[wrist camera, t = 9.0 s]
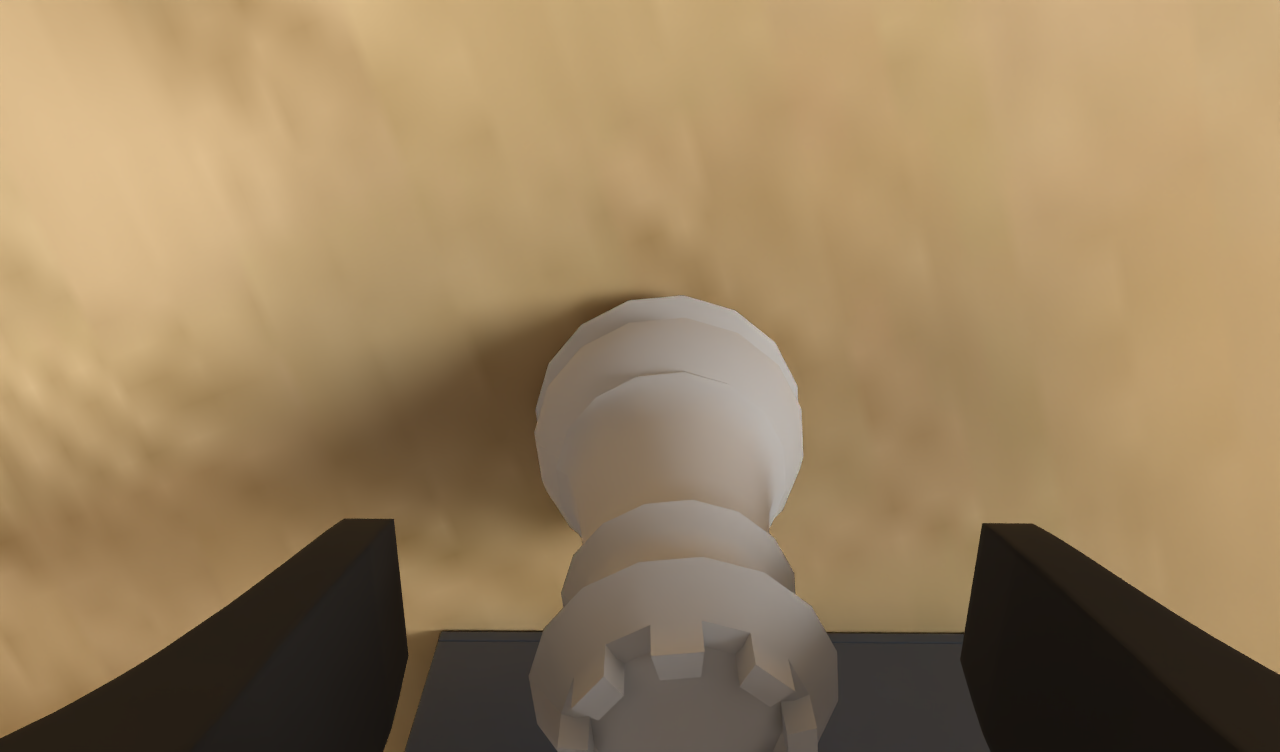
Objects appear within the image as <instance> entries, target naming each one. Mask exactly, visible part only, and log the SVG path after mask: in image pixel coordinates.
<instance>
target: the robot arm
mask: <svg viewBox="0 0 1280 752" xmlns="http://www.w3.org/2000/svg"><path fill="white" fill-rule="evenodd" d="M407 660H408V647H407V637H406V628H405V619H404V609H403V600H402V591H401V581H400V572H399V563H398V553H397V544H396V535H395V525H394V519H343V520H342V521H340V522H339V523H337V524H336V525H334V526H333V527H331V528H330V529H328V530H327V531H326V532H324V533H323V534H322V535H320V536H319V537H318V538H316V539H315V540H314V541H312V542H311V543H310V544H308V545H307V546H306V547H305V548H303V549H302V550H301V551H299V552H298V553H297V554H295V555H294V556H293V557H292V558H290V559H289V560H288V561H286V562H285V563H284V564H282V565H281V566H280V567H278V568H277V569H276V570H274V571H273V572H272V573H270V574H269V575H268V576H266V577H265V578H264V579H262V580H261V581H260V582H258V583H257V584H256V585H254V586H253V587H252V588H250V589H249V590H248V591H246V592H245V593H244V594H242V595H241V596H240V597H238V598H237V599H236V600H234V601H233V602H232V603H230V604H229V605H227V606H226V607H224V608H223V609H222V610H220V611H219V612H217V613H216V614H214V615H213V616H211V617H210V618H208V619H207V620H205V621H204V622H202V623H201V624H200V625H198V626H197V627H195V628H194V629H192V630H191V631H189V632H188V633H186V634H185V635H183V636H182V637H180V638H179V639H177V640H176V641H175V642H173V643H172V644H170V645H169V646H167V647H166V648H164V649H163V650H161V651H160V652H158V653H157V654H155V655H153V656H152V657H150V658H149V659H147V660H145V661H144V662H142V663H141V664H139V665H137V666H136V667H134V668H132V669H131V670H129V671H127V672H126V673H124V674H122V675H121V676H119V677H117V678H116V679H114V680H112V681H110V682H108V683H107V684H105V685H103V686H101V687H100V688H98V689H96V690H94V691H92V692H91V693H89V694H87V695H85V696H84V697H82V698H80V699H78V700H76V701H75V702H73V703H71V704H69V705H67V706H65V707H63V708H62V709H60V710H58V711H56V712H54V713H52V714H50V715H48V716H46V717H44V718H42V719H40V720H38V721H35V722H33V723H31V724H29V725H27V726H25V727H23V728H21V729H19V730H17V731H15V732H13V733H11V734H9V735H7V736H5V737H2V738H0V752H383V750H384V748H385V745H386V742H387V739H388V737H389V734H390V731H391V728H392V724H393V720H394V716H395V712H396V708H397V704H398V700H399V696H400V691H401V687H402V682H403V678H404V673H405V669H406V664H407ZM960 661H961V665H962V668H963V672H964V675H965V679H966V682H967V685H968V689H969V692H970V696H971V699H972V702H973V706H974V709H975V712H976V715H977V718H978V721H979V724H980V727H981V730H982V733H983V736H984V738H985V740H986V743H987V745H988V747H989V749H990V752H1280V675H1279V674H1277V673H1276V672H1274V671H1272V670H1270V669H1268V668H1266V667H1265V666H1263V665H1261V664H1259V663H1258V662H1256V661H1254V660H1252V659H1251V658H1249V657H1247V656H1245V655H1244V654H1242V653H1240V652H1239V651H1237V650H1235V649H1233V648H1232V647H1230V646H1228V645H1226V644H1225V643H1223V642H1221V641H1219V640H1218V639H1216V638H1214V637H1213V636H1211V635H1209V634H1208V633H1206V632H1204V631H1203V630H1201V629H1199V628H1198V627H1196V626H1195V625H1193V624H1191V623H1190V622H1188V621H1186V620H1185V619H1183V618H1181V617H1180V616H1178V615H1177V614H1175V613H1174V612H1172V611H1170V610H1169V609H1167V608H1166V607H1164V606H1162V605H1161V604H1159V603H1158V602H1156V601H1155V600H1153V599H1151V598H1150V597H1148V596H1147V595H1145V594H1144V593H1142V592H1141V591H1139V590H1138V589H1136V588H1134V587H1133V586H1131V585H1130V584H1128V583H1127V582H1125V581H1124V580H1122V579H1121V578H1119V577H1118V576H1116V575H1115V574H1113V573H1112V572H1110V571H1108V570H1107V569H1105V568H1104V567H1102V566H1101V565H1099V564H1098V563H1096V562H1095V561H1093V560H1092V559H1090V558H1089V557H1087V556H1086V555H1084V554H1083V553H1081V552H1079V551H1078V550H1076V549H1075V548H1073V547H1072V546H1070V545H1068V544H1067V543H1065V542H1064V541H1062V540H1060V539H1059V538H1057V537H1056V536H1054V535H1052V534H1051V533H1049V532H1047V531H1045V530H1044V529H1042V528H1040V527H1038V526H1036V525H1034V524H1005V523H982V529H981V535H980V541H979V547H978V554H977V560H976V566H975V572H974V578H973V584H972V590H971V596H970V602H969V608H968V614H967V621H966V627H965V633H964V639H963V645H962V651H961V657H960Z"/></svg>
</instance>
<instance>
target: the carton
mask: <svg viewBox="0 0 1280 752" xmlns="http://www.w3.org/2000/svg"><path fill="white" fill-rule="evenodd" d="M542 633H543V632H441V633H440V636H439V639H438V643H437V646H436V649H435V653H434V656H433V659H432V663H431V666H430V669H429V672H428V676H427V679H426V682H425V686H424V689H423V692H422V695H421V699H420V702H419V705H418V709H417V712H416V715H415V718H414V722H413V725H412V728H411V732H410V735H409V738H408V742H407V745H406V748H405V751H404V752H558V751H557V750H556V749H555V747H554V746H553V745H552V743H551V742H550V741H549V739H548V738H547V736H546V735H545V734H544V732H543V731H542V730H541V728H540V727H539V726H538V724H537V720H536V714H535V709H534V703H533V698H532V692H531V687H530V681H529V674H530V670H531V667H532V664H533V661H534V658H535V655H536V652H537V649H538V645H539V642H540V639H541V636H542ZM827 635H828V636H829V638H830V640H831V642H832V643H833V645H834V647H835V649H836V651H837V668H838V702H837V704H836V706H835V708H834V710H833V712H832V715H831V717H830V719H829V721H828V723H827V725H826V727H825V729H824V731H823V733H822V735H821V737H820V739H819V741H818V752H990V749H989V747H988V745H987V743H986V740H985V738H984V736H983V733H982V730H981V727H980V724H979V721H978V718H977V715H976V712H975V709H974V706H973V702H972V699H971V696H970V692H969V689H968V685H967V682H966V679H965V675H964V672H963V668H962V665H961V661H960V657H961V651H962V645H963V639H964V634H882V633H827Z"/></svg>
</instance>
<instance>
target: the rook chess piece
mask: <svg viewBox="0 0 1280 752" xmlns="http://www.w3.org/2000/svg"><path fill="white" fill-rule="evenodd" d="M535 410H536V417H537V425H536V429H535V432H534V435H535V441H536V447H537V454H538V460H539V466H540V473H541V479H542V482H543V484H544V487H545V489H546V491H547V493H548V494H549V496H550V497H551V499H552V500H553V502H554V503H555V505H556V506H557V508H558V509H559V511H560V512H561V514H562V515H563V517H564V519H565V520H566V522H567V523H568V525H569V526H570V528H571V529H573V530H574V531H576V532H577V533H578V534H579V535H580V537H581V538H582V543H583V545H582V546H581V547H580V548H579V549H578V551H577V552H576V553H575V554H574V555H573V558H572V561H571V564H570V567H569V570H568V573H567V576H566V579H565V582H564V585H563V588H562V592H561V595H562V601H563V609H562V610H561V611H560V612H559V613H558V614H557V615H556V616H555V617H554V618H553V619H552V620H551V621H550V622H549V624H548V625H547V626H546V627H545V628H544V630H543V633H542V636H541V639H540V642H539V645H538V649H537V652H536V655H535V658H534V661H533V664H532V667H531V670H530V674H529V681H530V687H531V692H532V698H533V703H534V709H535V714H536V720H537V724H538V726H539V727H540V728H541V730H542V731H543V732H544V734H545V735H546V736H547V738H548V739H549V741H550V742H551V743H552V745H553V746H554V747H555V749H556V750H557V751H558V752H818V741H819V739H820V737H821V735H822V733H823V731H824V729H825V727H826V725H827V723H828V721H829V719H830V717H831V715H832V712H833V710H834V708H835V706H836V704H837V702H838V668H837V651H836V649H835V647H834V645H833V643H832V642H831V640H830V638H829V636H828V635H827V633H826V631H825V629H824V628H823V626H822V624H821V622H820V620H819V619H818V617H817V615H816V613H815V612H814V610H813V608H812V606H810V605H809V604H808V603H806V602H805V601H803V600H802V599H801V598H799V597H798V596H797V595H795V578H794V572H793V570H792V568H791V567H790V565H789V563H788V561H787V559H786V558H785V556H784V554H783V552H782V551H781V549H780V547H779V545H778V543H777V542H776V540H775V538H774V537H772V536H771V535H770V534H769V527H770V526H771V524H772V522H773V519H774V518H775V517H776V516H777V515H778V514H779V513H780V512H781V511H782V510H783V508H784V506H785V503H786V501H787V499H788V496H789V494H790V491H791V489H792V487H793V484H794V482H795V479H796V477H797V475H798V472H799V470H800V467H801V463H802V460H803V436H802V410H801V407H800V405H799V403H798V387H797V384H796V382H795V380H794V378H793V376H792V374H791V372H790V370H789V368H788V367H787V365H786V363H785V361H784V359H783V357H782V355H781V353H780V351H779V349H778V347H777V345H776V343H775V342H774V341H773V340H771V339H770V338H769V337H768V336H766V335H765V334H764V333H763V332H761V331H760V330H759V329H758V328H756V327H755V326H754V325H753V324H751V323H750V322H749V321H748V320H746V319H745V318H744V317H743V316H741V315H740V314H739V313H738V312H737V311H735V310H732V309H729V308H726V307H722V306H719V305H715V304H712V303H708V302H705V301H701V300H698V299H694V298H691V297H688V296H684V295H680V296H670V297H659V298H649V299H638V300H629V301H627V302H625V303H623V304H621V305H619V306H617V307H615V308H613V309H611V310H609V311H607V312H605V313H603V314H601V315H599V316H597V317H595V318H593V319H591V320H589V321H588V322H586V323H584V324H582V325H581V326H580V327H579V328H578V329H577V330H576V332H575V333H574V334H573V335H572V336H571V337H570V339H569V340H568V341H567V342H566V343H565V345H564V346H563V347H562V348H561V349H560V351H559V352H558V353H557V354H556V355H555V356H554V358H553V359H552V360H551V361H550V362H549V364H548V367H547V371H546V374H545V378H544V381H543V385H542V388H541V392H540V395H539V399H538V402H537V406H536V409H535Z"/></svg>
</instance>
